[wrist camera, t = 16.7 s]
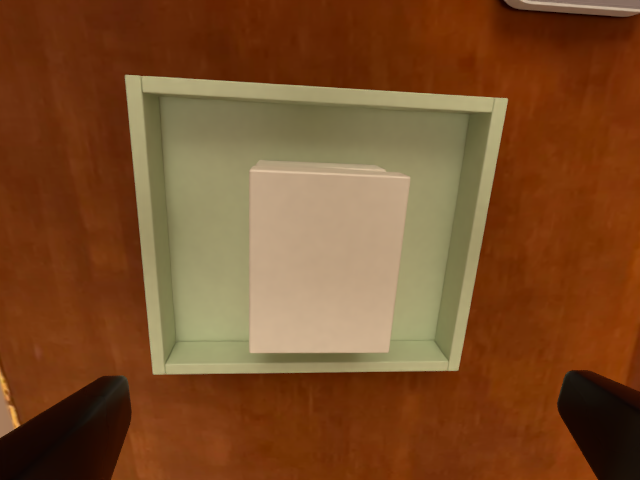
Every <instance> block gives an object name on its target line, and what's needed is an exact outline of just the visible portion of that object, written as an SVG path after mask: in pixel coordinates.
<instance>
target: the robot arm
mask: <svg viewBox="0 0 640 480" xmlns="http://www.w3.org/2000/svg"><path fill="white" fill-rule="evenodd" d="M557 407H558V411H559V414H560V416H561V418H562V419H563V421H564V423H565V424H566V426H567V428H568V429H569V431H570V433H571V435H572V436H573V438H574V440H575V441H576V443H577V445H578V446H579V448H580V450H581V451H582V453H583V455H584V457H585V458H586V460H587V462H588V463H589V465H590V467H591V468H592V470H593V472H594V474H595V475H596V477H597V479H598V480H640V392H639V391H636V390H634V389H632V388H629V387H627V386H625V385H622V384H620V383H618V382H615V381H613V380H611V379H608V378H606V377H603V376H601V375H599V374H596V373H594V372H592V371H588V370H572V371H569V372H567V374H566V375H565V377H564V380H563V384H562V387H561V391H560V394H559V398H558V402H557ZM130 421H131V403H130V394H129V386H128V381H127V378H126V377H124V376H103V377H100V378H98V379H97V380H95V381H93V382H92V383H90V384H89V385H87V386H85V387H84V388H82V389H80V390H79V391H77V392H75V393H74V394H72V395H70V396H69V397H67V398H65V399H64V400H62V401H61V402H59V403H57V404H56V405H54V406H52V407H51V408H49V409H47V410H46V411H44V412H42V413H41V414H39V415H37V416H36V417H34V418H32V419H31V420H29V421H28V422H26V423H24V424H23V425H21V426H19V427H18V428H16V429H14V430H13V431H11V432H9V433H8V434H6V435H5V436H3V437H1V438H0V480H111V478H112V475H113V472H114V469H115V466H116V463H117V460H118V457H119V454H120V451H121V449H122V446H123V443H124V440H125V437H126V434H127V431H128V428H129V425H130Z"/></svg>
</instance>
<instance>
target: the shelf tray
mask: <svg viewBox="0 0 640 480" xmlns="http://www.w3.org/2000/svg"><path fill="white" fill-rule="evenodd" d="M125 83H126V93H127V104H128V115H129V125H130V136H131V146H132V157H133V168H134V178H135V189H136V200H137V210H138V221H139V232H140V242H141V253H142V264H143V274H144V285H145V296H146V306H147V317H148V327H149V338H150V349H151V359H152V370H153V374H154V375H156V374H165V373H166V374H235V373H313V372H392V371H458V369H459V364H460V359H461V353H462V348H463V342H464V337H465V331H466V326H467V320H468V315H469V309H470V304H471V299H472V293H473V288H474V282H475V277H476V271H477V266H478V260H479V255H480V249H481V244H482V238H483V233H484V228H485V222H486V217H487V211H488V206H489V200H490V195H491V189H492V184H493V178H494V173H495V168H496V162H497V157H498V151H499V146H500V140H501V135H502V129H503V124H504V118H505V113H506V107H507V102H508V99H507V98H491V97H475V96H459V95H443V94H427V93H411V92H394V91H378V90H362V89H346V88H330V87H314V86H298V85H282V84H266V83H249V82H233V81H217V80H201V79H185V78H169V77H153V76H136V75H125ZM259 160H273V161H297V162H320V163H344V164H368V165H376V166H378V167H381V168H383V169H385V170H386V172H400V173H402V174H404V175H407V176H409V177H410V187H409V195H408V203H407V211H406V219H405V227H404V235H403V243H402V251H401V259H400V267H399V275H398V283H397V291H396V299H395V307H394V315H393V323H392V331H391V339H390V347H389V352H388V353H250V352H249V171H250V169H251V168H252V166H256V164H257V162H258V161H259Z"/></svg>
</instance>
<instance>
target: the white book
mask: <svg viewBox="0 0 640 480" xmlns="http://www.w3.org/2000/svg"><path fill="white" fill-rule="evenodd" d="M409 187H410V177H409V176H407V175H404V174H402V173H400V172H379V171H358V170H336V169H315V168H293V167H272V166H252V168H251V169H250V171H249V352H250V353H388V352H389V347H390V339H391V331H392V323H393V315H394V307H395V299H396V291H397V283H398V275H399V267H400V259H401V251H402V243H403V235H404V227H405V219H406V211H407V203H408V195H409Z"/></svg>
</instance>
